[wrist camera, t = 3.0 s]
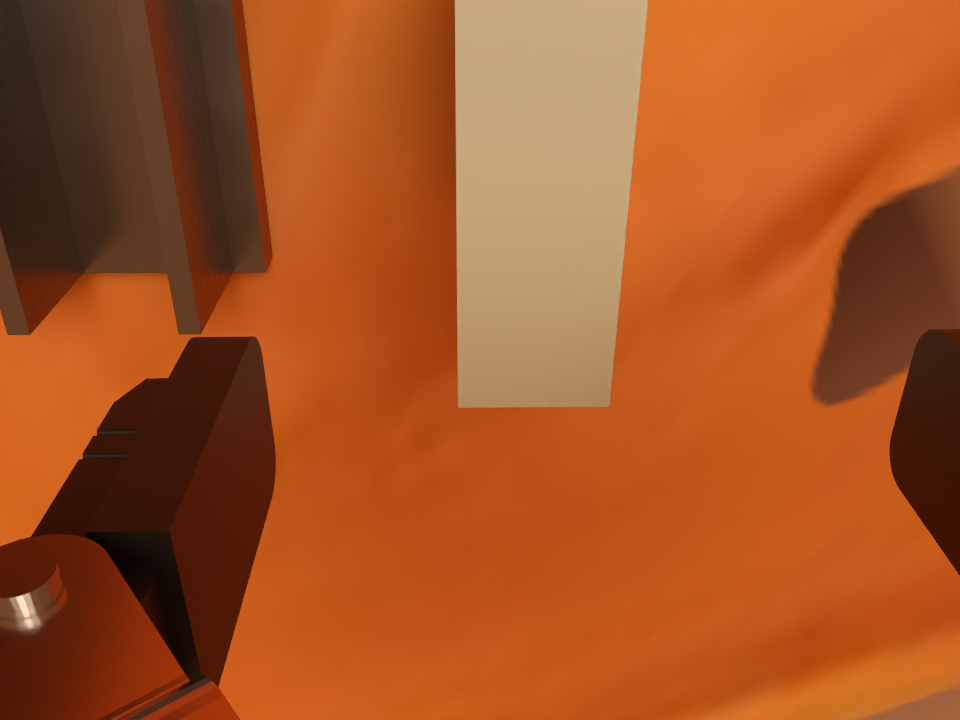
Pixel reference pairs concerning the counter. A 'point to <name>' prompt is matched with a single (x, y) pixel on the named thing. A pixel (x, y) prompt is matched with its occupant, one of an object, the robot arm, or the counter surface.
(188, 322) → the dish rack
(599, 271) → the tall cream pillar
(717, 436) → the counter surface
